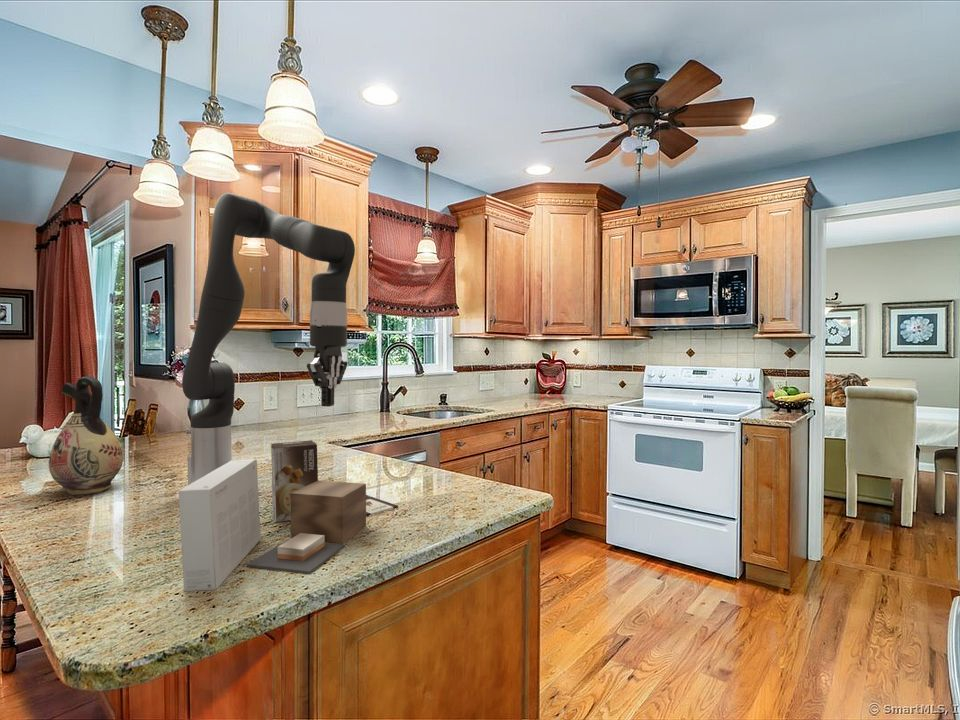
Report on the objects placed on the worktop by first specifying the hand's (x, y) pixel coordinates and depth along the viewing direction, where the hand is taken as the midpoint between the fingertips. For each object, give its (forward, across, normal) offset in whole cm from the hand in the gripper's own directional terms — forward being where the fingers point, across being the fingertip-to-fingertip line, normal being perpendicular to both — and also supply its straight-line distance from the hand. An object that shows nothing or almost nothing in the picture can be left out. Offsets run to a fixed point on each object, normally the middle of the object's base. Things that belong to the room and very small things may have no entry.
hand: (327, 406), depth 111 cm
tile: (+22, +17, +5) cm, 28 cm away
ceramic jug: (+27, -7, -72) cm, 77 cm away
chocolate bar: (+26, -14, +1) cm, 29 cm away
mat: (+25, +18, +5) cm, 31 cm away
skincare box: (+25, +23, -6) cm, 35 cm away
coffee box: (+25, -2, -9) cm, 27 cm away
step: (+25, +6, +4) cm, 26 cm away
